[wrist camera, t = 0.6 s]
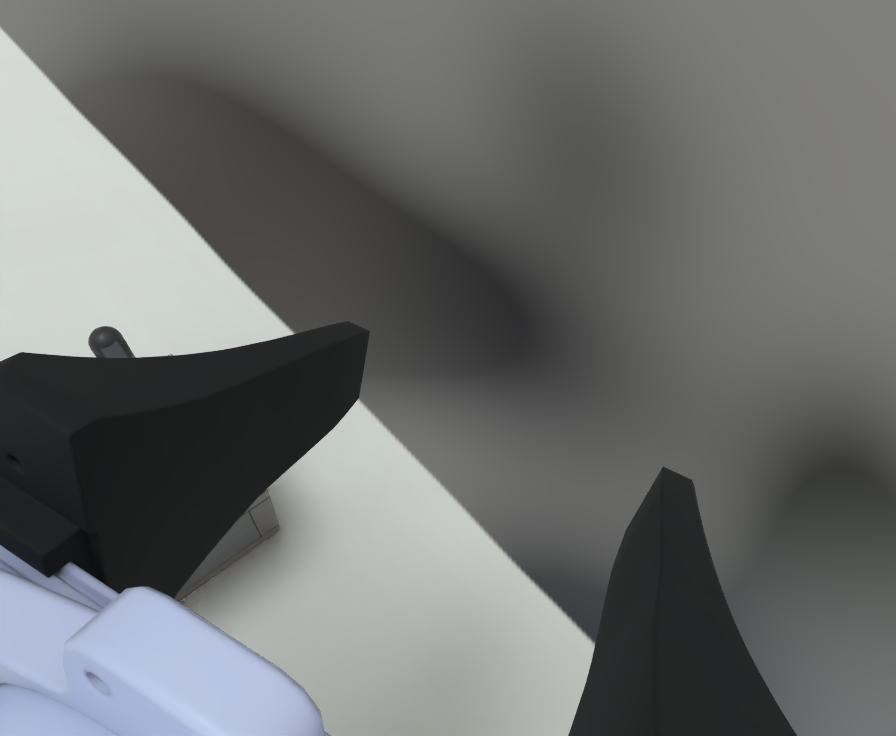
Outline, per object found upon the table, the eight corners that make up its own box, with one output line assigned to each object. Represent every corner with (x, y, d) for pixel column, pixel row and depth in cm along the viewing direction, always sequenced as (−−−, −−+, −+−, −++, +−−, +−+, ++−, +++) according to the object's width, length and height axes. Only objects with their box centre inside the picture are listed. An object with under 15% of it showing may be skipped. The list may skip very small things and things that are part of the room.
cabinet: (11, 719, 25) (-95, 730, 19) (-63, 572, 27) (-180, 537, 21) (280, 529, 31) (267, 488, 24) (202, 417, 33) (171, 352, 26)
